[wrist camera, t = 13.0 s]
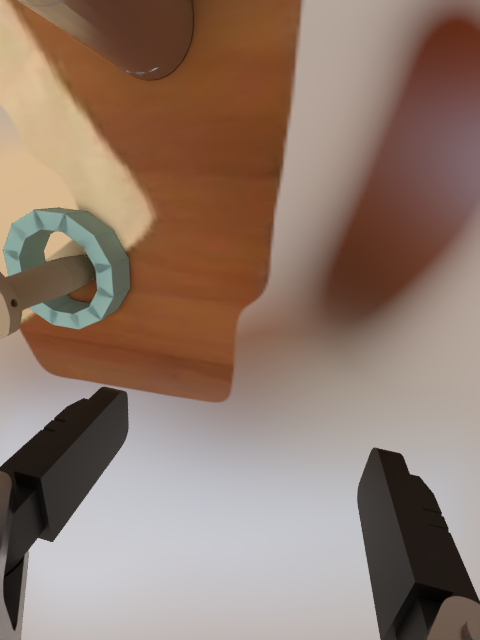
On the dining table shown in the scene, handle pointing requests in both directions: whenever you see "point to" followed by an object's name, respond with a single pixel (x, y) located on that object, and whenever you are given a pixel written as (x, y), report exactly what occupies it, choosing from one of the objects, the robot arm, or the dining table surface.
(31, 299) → the handle
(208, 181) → the dining table surface
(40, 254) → the notched ring
